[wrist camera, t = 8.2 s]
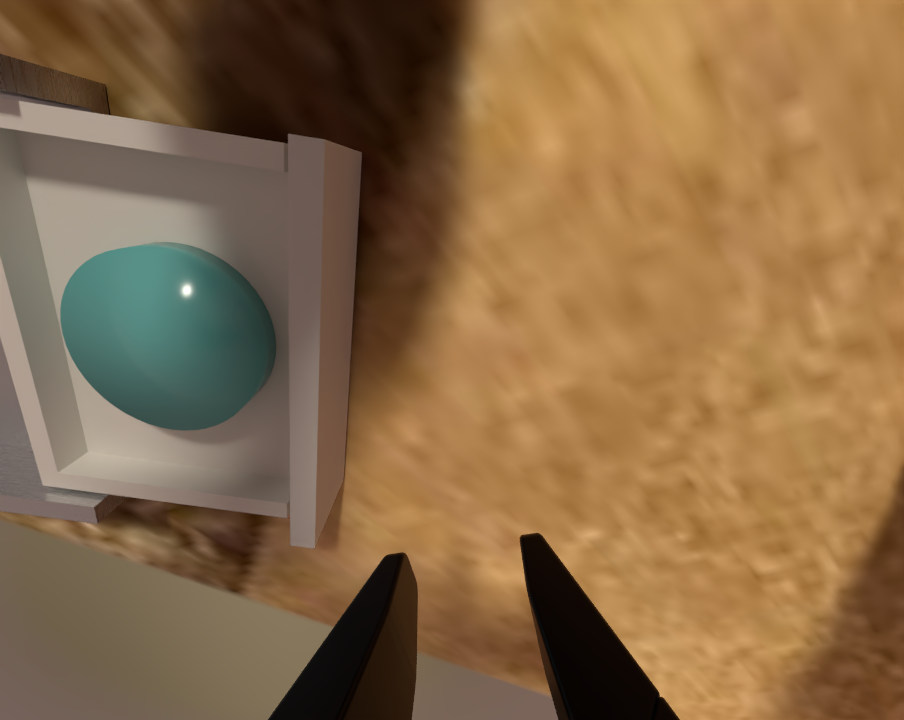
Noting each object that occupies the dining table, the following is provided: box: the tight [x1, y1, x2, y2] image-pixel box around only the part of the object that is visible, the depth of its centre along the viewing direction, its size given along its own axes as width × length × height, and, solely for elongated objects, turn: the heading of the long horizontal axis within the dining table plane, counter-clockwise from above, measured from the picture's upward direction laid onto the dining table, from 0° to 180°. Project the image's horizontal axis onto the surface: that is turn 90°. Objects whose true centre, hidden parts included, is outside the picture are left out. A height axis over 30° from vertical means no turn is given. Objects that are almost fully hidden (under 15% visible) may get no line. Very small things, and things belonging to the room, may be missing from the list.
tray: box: [0, 98, 362, 549], centre depth 16 cm, size 12×15×4 cm
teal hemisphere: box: [60, 242, 276, 431], centre depth 16 cm, size 7×7×2 cm
